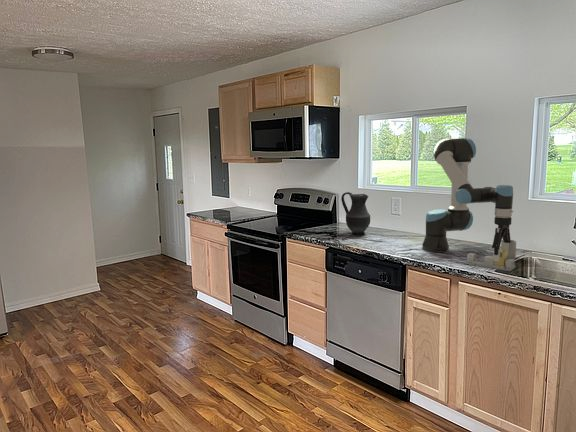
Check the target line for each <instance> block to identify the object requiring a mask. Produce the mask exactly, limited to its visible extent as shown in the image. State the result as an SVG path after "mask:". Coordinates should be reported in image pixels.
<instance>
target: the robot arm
mask: <svg viewBox="0 0 576 432" xmlns="http://www.w3.org/2000/svg"><path fill="white" fill-rule="evenodd" d="M476 153H477V146H476V144H475V142H474V140H472V139H471V138H467V137H466V138H465V137H464V138H445V139H442V140H439V142H437V144H436V145H435V147H434V149H433V158H434V160H435V162H436V164H437V165H440V166H441V169H443V171H444V174H446V176H447V179H449V181H450V182H451V188H450V189H451V192H450V193H451V195H450V206H448V208H447V210H446V209H441V208H439V209H432V210H429V211H428V212H426V215H425V236H424V240H423V241H422V242H423V243H422V246H421V248H422V250H424V251H425V252H430V253H431V252H432V253H443V252H448V251H450V244H449V241H448V238H447V232H455V231H456V232H457V231H459V232H461V231H466V230H469V229H470V228H471V227H472V226H473V223H474V222H473V221H474V216H473V213H472V211H470V207H469V206H467V205H468V204H476V203H477V204H483V203H494V206H495V207H494V224H495V225H496V226H498V227H495V230H494V236H493V242H492V246H491V248H492V249H493V255H492V256H493V261H498V262H499V261H500V250H501V241H502V240H503V241H504V242H503V248H502V250H506V251H507V256H508V250H509V243H511V241H510V240H512V239H511V231H510V226H511V225H512V214H513V213H514V210H513V201H514V200H513V199H514V187H513V186H512V185H509V184H508V185H507V184H499V185H498V184H497V186H496V187H493V186H484V187H478V188H477V187H476V188H475V187H473V186H472V185H471V183H470V182H469V180H468V177H469V175H468V173H469V165H470V163H472V160H473V158H475V157H476Z"/></svg>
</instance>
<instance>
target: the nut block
mask: <svg viewBox="0 0 576 432" xmlns="http://www.w3.org/2000/svg"><path fill="white" fill-rule="evenodd" d="M506 260H507V251H506V250H501V249H500V261H499V262H498V261H494V265H499V266H505V263H506Z"/></svg>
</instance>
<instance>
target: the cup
mask: <svg viewBox="0 0 576 432" xmlns="http://www.w3.org/2000/svg"><path fill="white" fill-rule="evenodd" d="M510 241H511V243H509V250H508V256H507V259H515V258H516V252H517V241H516V240H514V239H511V240H510ZM503 242H504V241H503V239H502V241H501V244H500V250H502V248H503Z"/></svg>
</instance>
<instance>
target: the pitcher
mask: <svg viewBox="0 0 576 432" xmlns="http://www.w3.org/2000/svg"><path fill="white" fill-rule="evenodd" d="M346 195H349V197H350V200H351V206H350V208H348V206H347V203H346V201H345V196H346ZM368 198H369V195H367V194H365V193H352V192H350V191H346V192H344V193H342V195H341V199H340V200H341V204H342V206H343V208H344V211H345V222H346V223H345V224H346V226H347V228H348V229H349V230H350V231H351V236H354V237H355V236H356V237H361V236H365V235H366V233H365V231H366V230H367V229H368V228H369V227H370V224H371V215H370V213H369V211H368V209H367V205H366V202H367V200H368Z"/></svg>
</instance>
